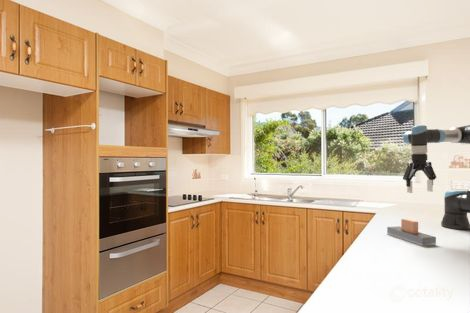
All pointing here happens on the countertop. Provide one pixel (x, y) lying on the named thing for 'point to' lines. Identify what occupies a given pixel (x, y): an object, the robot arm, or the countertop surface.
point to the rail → (412, 236)
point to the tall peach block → (409, 226)
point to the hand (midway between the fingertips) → (420, 192)
